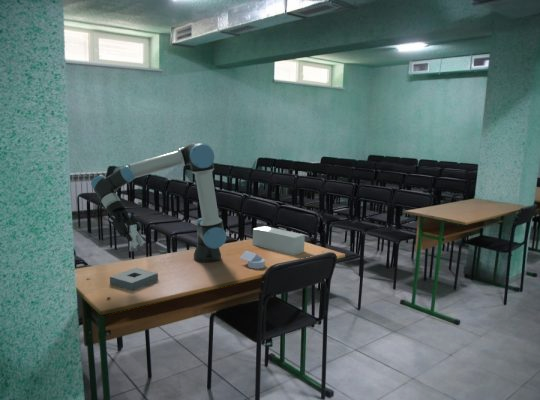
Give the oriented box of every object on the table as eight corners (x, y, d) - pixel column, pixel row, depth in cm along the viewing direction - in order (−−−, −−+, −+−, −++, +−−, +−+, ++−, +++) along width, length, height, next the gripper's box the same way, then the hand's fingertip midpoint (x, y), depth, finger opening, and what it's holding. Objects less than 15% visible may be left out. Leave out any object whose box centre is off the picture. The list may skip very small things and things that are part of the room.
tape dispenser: (239, 263, 234) (256, 269, 225) (239, 251, 233) (256, 257, 224) (251, 260, 240) (268, 266, 232) (251, 249, 239) (268, 254, 230)
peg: (133, 249, 201) (133, 223, 199) (138, 250, 200) (138, 224, 198) (128, 250, 199) (127, 225, 197) (133, 251, 197) (132, 226, 195)
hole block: (136, 274, 211) (136, 267, 211) (157, 280, 205) (157, 273, 204) (110, 284, 198) (109, 276, 197) (132, 290, 191) (132, 283, 190)
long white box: (252, 245, 273) (252, 228, 271) (263, 242, 281) (263, 225, 280) (293, 255, 254) (294, 237, 252) (304, 252, 262) (304, 234, 260)
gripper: (123, 207, 211) (148, 246, 205) (95, 212, 197) (121, 254, 191) (130, 197, 207) (156, 237, 202) (102, 202, 193) (129, 244, 188)
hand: (139, 245), depth 197 cm, fingers closed on peg, 3 cm apart
